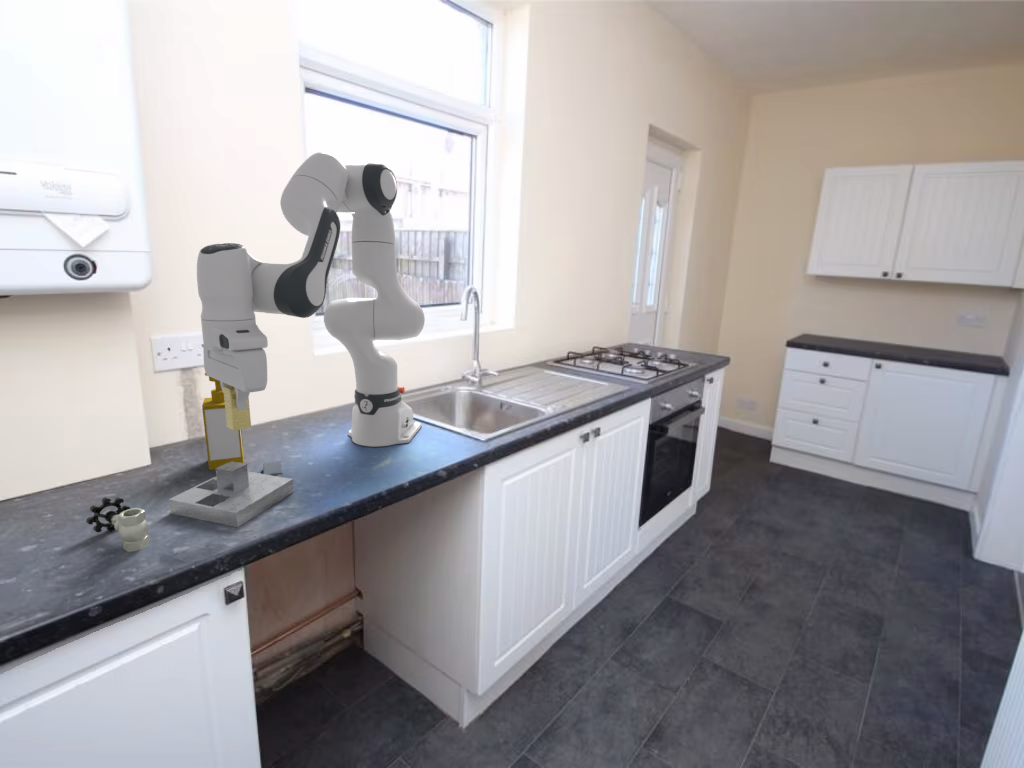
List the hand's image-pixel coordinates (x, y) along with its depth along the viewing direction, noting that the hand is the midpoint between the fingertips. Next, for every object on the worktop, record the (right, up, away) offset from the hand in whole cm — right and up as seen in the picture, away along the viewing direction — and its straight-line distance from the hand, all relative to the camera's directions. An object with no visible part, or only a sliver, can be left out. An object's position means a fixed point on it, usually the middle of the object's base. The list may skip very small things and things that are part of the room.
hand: (236, 406), depth 100 cm
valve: (-17, -24, -6) cm, 30 cm away
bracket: (-3, -18, +22) cm, 28 cm away
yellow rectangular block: (0, -4, +1) cm, 4 cm away
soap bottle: (-18, -14, +31) cm, 38 cm away
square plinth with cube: (-5, -20, +9) cm, 23 cm away
